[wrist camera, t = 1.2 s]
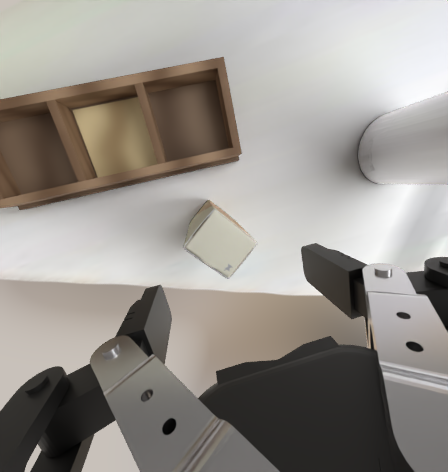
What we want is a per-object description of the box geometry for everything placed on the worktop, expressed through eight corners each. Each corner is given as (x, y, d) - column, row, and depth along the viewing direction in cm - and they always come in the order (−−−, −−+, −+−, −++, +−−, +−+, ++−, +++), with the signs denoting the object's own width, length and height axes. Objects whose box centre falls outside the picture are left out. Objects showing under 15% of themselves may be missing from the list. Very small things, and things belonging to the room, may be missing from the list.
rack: (219, 70, 24) (224, 51, 20) (237, 160, 26) (243, 157, 23) (-19, 116, 22) (-59, 104, 18) (26, 209, 24) (-1, 213, 21)
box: (237, 221, 28) (262, 245, 18) (217, 245, 29) (230, 282, 18) (206, 197, 27) (214, 207, 16) (186, 223, 27) (181, 248, 17)
